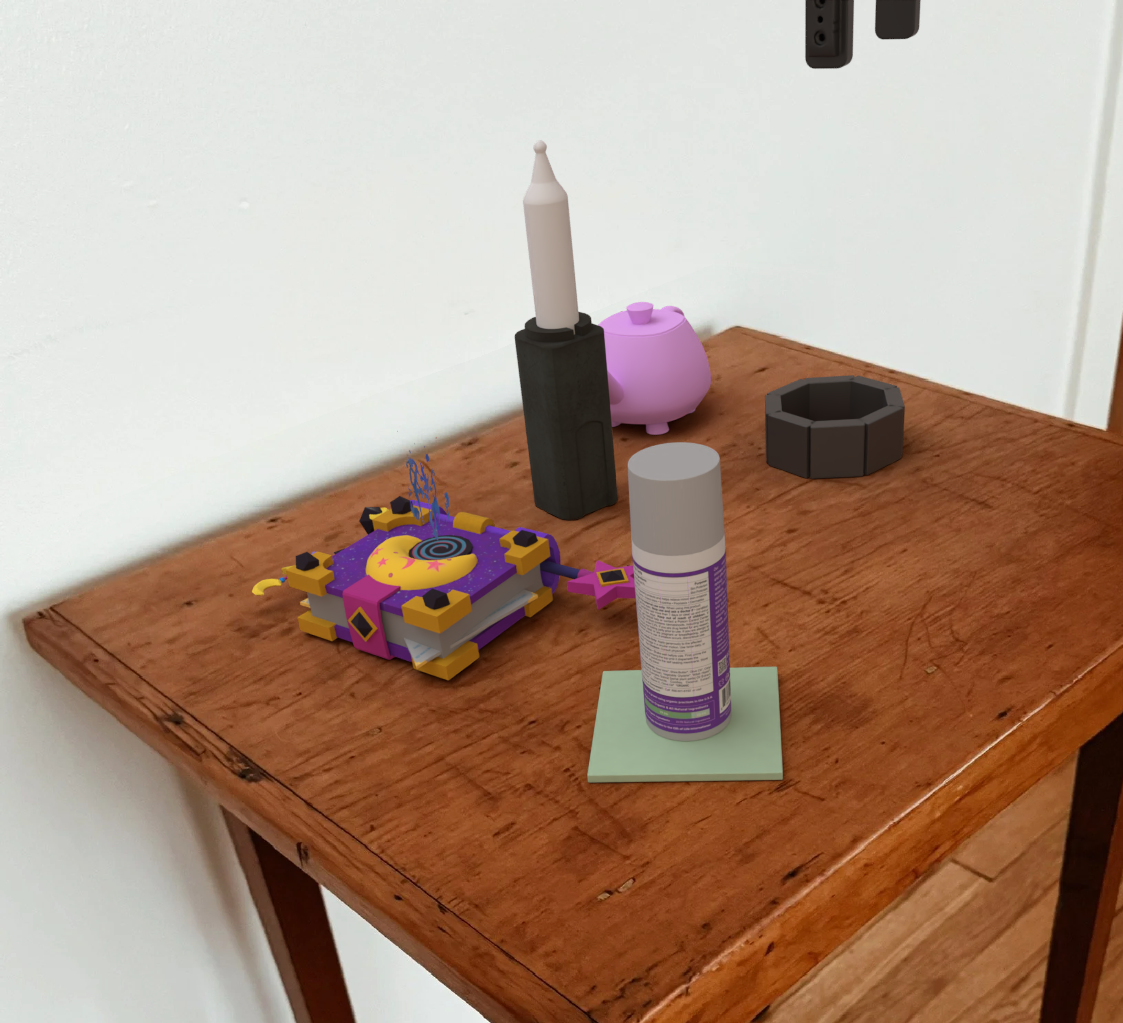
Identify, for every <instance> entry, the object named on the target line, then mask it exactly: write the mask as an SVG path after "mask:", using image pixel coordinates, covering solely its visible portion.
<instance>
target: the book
mask: <svg viewBox="0 0 1123 1023" xmlns="http://www.w3.org/2000/svg"><path fill="white" fill-rule="evenodd" d="M397 432H398V430H397ZM435 439H437V436H435ZM414 445H416V443H415V442H414ZM423 447H424V448H426V445H424V446H423ZM408 452H409V453H407V454H406V455H407V457H408V459H406V464H405V466H406V468H407V469H408V468H409V473H408V474H409V481H410V484H411V486H412V487H413V491H412V489H411V488H409V486H410V485H408V486H407V490H408V498H409V499H407V498H405V497H403V496H401V495H399V496H397V497H396V498H394V499H392V500H391V501H390V502H389V505H390V509H388V508H387V507H380V506H364V508H363V511H362V513H361V515H360V517H359V523H360V525H361V526H362V528H363V530H364V531H365V533H366V535H365V536H363V537H362V538H360V539H358V540H357V541H355V542H354V543H352V544H350V545H349V546H347V547H345V548H342V549H339V550H337V551H334V552H333V554H334V555H332V554H328V553H324V552H321V551H312V552H311V553H310V552H308V551H305V552H302V553H300V554H297V555H295V564H294V565H290V566H289V565H288V566H285V567H281V568H280V569H281V573H282V575H286V576H285V577H284V576H283V577H280V578H279V579H278V578H266V579H262V580H260V581H258V582H257V583H256V584H255V585H254V586H252V590H251V593H253V594H254V596H257V597H262V596H264V595H265V591H266V590H268V589H269V588H273V587H281V586H282V583H285V582H286V580H287V582H288V586H289V588H292V589H296V590H298V591H302V592H305V593H306V595H307V598H304V599H303V600H301V601H299V603H300V604H299V605H300V606H303V607H306V608H308V610H307V611H305V612H304V613H302V614H300V615H299V616H297V623H298V627H299V630H300V631H301V632H304V633H306V634H310V635H313V636H315V637H318V638H322V639H324V640H328V641H330V642H333V641H335V640H336V639H338V638H339V639H342V640H344V641H347V642H349V643H350V642H351V643H352V644H353V648H354V649H356V650H359V651H362V652H365V653H368V654H371V655H374V656H377V657H380V658H383V659H385V660H388V661H390V660H392V659H393V658H398V659H401V660H404V661H407V662H411V663H412V669H414V670H416V671H419V672H423V673H426V674H427V675H431V676H434V677H437V678H440V679H443V680H446V681H450V680H451V679H452V678H454V677H456V675H458V674H459V673H460V672H461V671H463V670H465V669H466V668H468V667H469V666H470V665H471V664H472V663H474V662H475V661H477V660H478V659H479V658H480V653H479V651H480V650H481V649H482V648H484V647H485V646H486V645H487V644H489V643H491V642H492V641H493V640H494V639H496V638H498V636H500V635H501V634H502V633H503V632H505V631H506V630H508V629H509V628H511V627H512V626H513V625H514V624H516V623H517V622H518V621H520V620H521V619H523V618H524V617H528V618H531V617H533V616H534V615H536V614H537V613H538V612H540V611H541V610H542V609H544V608H546V607H547V605H549V604H550V603H551V602H553V601H554V597H553V594H554V593H555V592H556V590H557V588H558V586H559V580H560V577H564V578H568V579H570V580H568V581H566V587H567V593H572V594H578V595H579V594H580V595H585V596H592V597H594V599H595V603H596V609H597V611H599V610H601V609H602V608H604V607H606V606H607V605H609V604H611V603H612V602H613V601H615V600H617V599H636V596H635V584H634V571H633V564H632V565H625V566H619V567H615V566H612V565H611V564H607V563H606V562H604V561H600V560H598V559H597V560H596V563H595V567H594V571H590V570H589V569H586V568H584V567H583V568H581V569H579V568H576V567H571V566H568V565H564V564H561V562H562V561H561V560H562V559H561V552H560V548H559V545H558V542H557V540H556V539H555V537H554V536H553V535H552V534H550V533H546V532H542V531H538V530H534V529H530V528H526V527H521V526H520V527H517V528H515V530H513V529H512V530H508V529H504V528H500V527H496V524H495V522H494V520H493V519H492V518H489V517H486V516H482V515H478V514H474V513H469V512H466V511H460V512H458V513H457V514H456V515H455V516H452V515H450V512H449V507H450V497H449V493H448V492H444V498H445V500H446V502H444V505H445V509H444V508H443V507H442V506H440V505H439V502H438V498H437V487H436V483H435V479H434V478H433V476H436V473H435V471H434V468H431V470H430V486H429V477H427V476H429V474H428V472H427V473H425V471H424V469H425V465H424V464H422V463H421V462H419V463H420V471H419V469H418V465H417V462H416V460H414V459H413V458H411V457H409V455H408V454H412V451H411V450H408ZM424 453H425V461H426V463H427V464H428V463H429V462H430V455H429V453H426V452H424ZM413 468H415V469H413ZM427 469H428V468H426V470H427ZM420 472H421V475H420ZM412 473H413V476H412ZM418 476H419V479H420V482H424V485H423V488H422V487H421V486H420V484H419V482H418V481H419V480H418ZM432 486H433V487H432ZM444 488H447V486H446V485H445V486H444ZM433 489H434V494H432V498H433V501H432V502H431V503H430V497H429V493H430V492H433ZM413 493H414V497H415V499H416V500H415V499H411V496H412V494H413ZM420 495H421V498H422V499H424V498H426V500H427V502H423V501H420Z"/></svg>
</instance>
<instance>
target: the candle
mask: <svg viewBox="0 0 1123 1023" xmlns="http://www.w3.org/2000/svg"><path fill="white" fill-rule="evenodd" d="M547 148H548V146H547V144H546V143H545V141H543V140H542V139H539V140H536V141H535V143H534V144H533V152H534V153H535V156H534V161H533V166H532V167H533V168H532V173H531V179H530V183H529V185H528V187H527V189H526V191H525V193H524V196H523V198H522V199H523V200H522V205H523V214H524V216H523V217H524V224H525V232H526V242H527V251H528V252H527V253H528V260H529V268H530V278H531V287H532V295H533V304H534V312H535V316H533V317H531V318H529V319H527V321H526V322H525V323H524V328H523V329H520V330H518V331H516V333H515V334H514V344H515V353H516V360H517V369H518V377H519V386H520V394H521V395H520V396H521V402H522V409H523V410H522V411H523V419H524V427H525V435H526V443H527V451H528V460H529V468H530V476H531V484H532V491H533V501H534V505H535V506H536V507H537V508H539V509H540V510H543V511H545V512H546V513H549V514H551V515H553V517H554V516H555V517H556V518H558V519H561V520H566V521H575V520H579V519H582V518H584V516H586V515H588V514H591V513H593V512H596V511H598V510H600V509H603V508H605V507H608V506H610V507H611V506H613V505H615V504H617V502H618V501H619V496H618V484H617V483H618V482H617V472H616V471H617V470H616V460H615V448H614V435H613V434H614V432H613V427H612V421H611V409H610V397H609V385H608V373H607V361H606V348H605V336H604V329H603V328H602V327H601V326H599V325H598V324H596V323H593V322H592V317H591V315H589V314H588V313H586V312H582V311H579V304H578V293H577V291H578V290H577V284H576V283H577V282H576V271H575V262H574V261H575V260H574V250H573V241H572V240H573V238H572V227H571V217H570V207H569V206H570V205H569V195H568V194H567V193H568V192H567V191H566V190H565V188H564V187H563V186H562V184H560V182H559V181H558V179H557V178H556V176H555V173H554V170H553V168H552V165H551V163H550V160H549V157H548V155H547V153H546V152H547Z"/></svg>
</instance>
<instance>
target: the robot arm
mask: <svg viewBox="0 0 1123 1023" xmlns="http://www.w3.org/2000/svg"><path fill="white" fill-rule="evenodd" d="M921 2H922V1H921V0H875V13H874V14H875V17H874V33H875V36H876V37H877V38H878V39H880V40H907V39H910V38H912V37H914V36H916V35H917V34H918V32H919V30H920V22H921V20H920V18H921ZM804 4H805V7H804V8H805V10H804V11H805V12H804V13H805V15H804V16H805V17H804V22H805V23H804V24H805V26H804V27H805V28H804V29H805V30H804V32H805V33H804V35H805V37H804V38H805V39H804V43H805V44H804V45H805V46H804V55H805V56H804V58H805V59H804V60H805V63H806V65H807V66H808V67H809V68H811V69H815V70H816V69H817V70H822V69H823V70H824V69H826V70H827V69H829V70H830V69H831V70H832V69H833V70H835V69H836V70H837V69H842V68H844V67H845V66H848V65H850V63H851V62H852V60H853V57H854V25H855V24H854V22H855V21H854V19H855V18H854V17H855V15H854V14H855V0H805V2H804Z"/></svg>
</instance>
